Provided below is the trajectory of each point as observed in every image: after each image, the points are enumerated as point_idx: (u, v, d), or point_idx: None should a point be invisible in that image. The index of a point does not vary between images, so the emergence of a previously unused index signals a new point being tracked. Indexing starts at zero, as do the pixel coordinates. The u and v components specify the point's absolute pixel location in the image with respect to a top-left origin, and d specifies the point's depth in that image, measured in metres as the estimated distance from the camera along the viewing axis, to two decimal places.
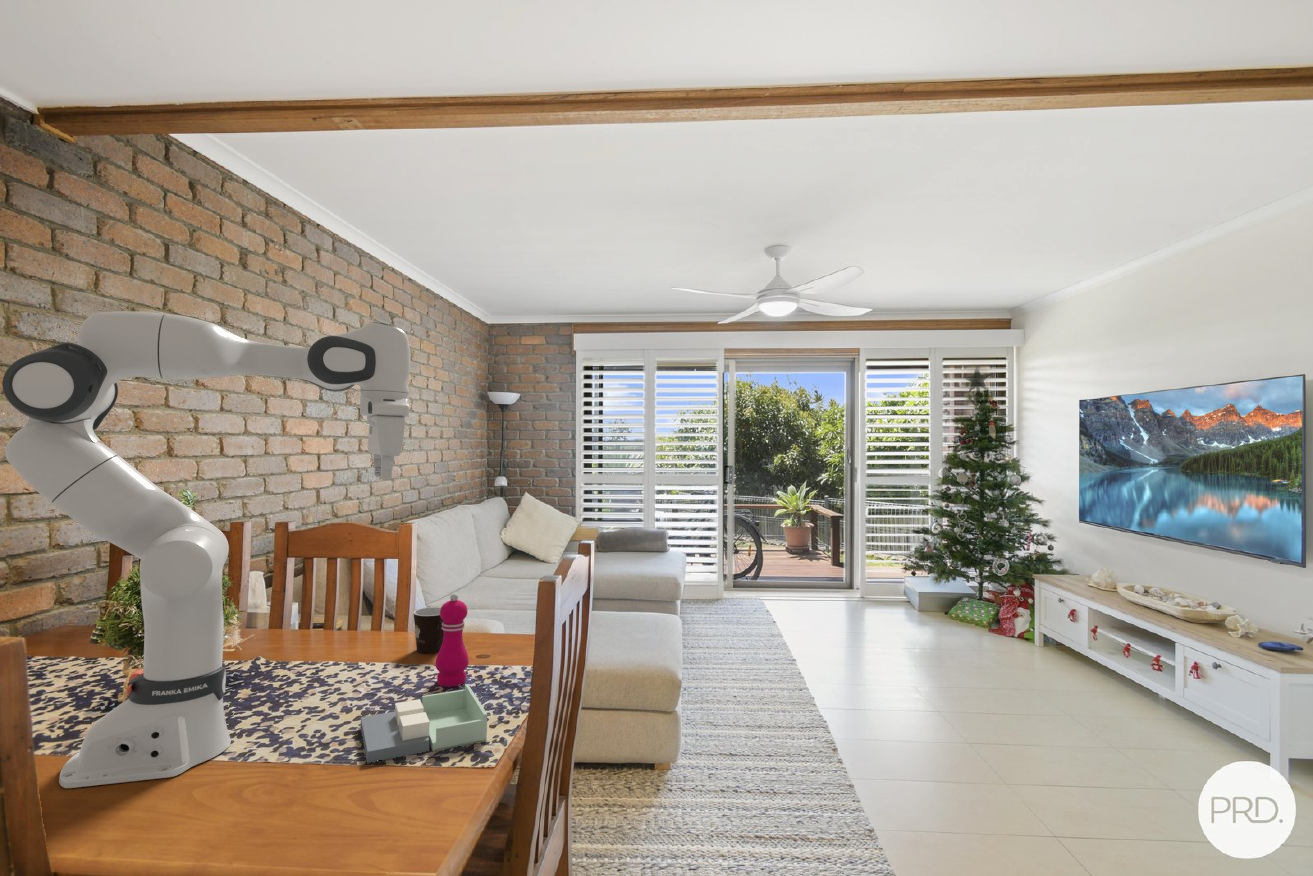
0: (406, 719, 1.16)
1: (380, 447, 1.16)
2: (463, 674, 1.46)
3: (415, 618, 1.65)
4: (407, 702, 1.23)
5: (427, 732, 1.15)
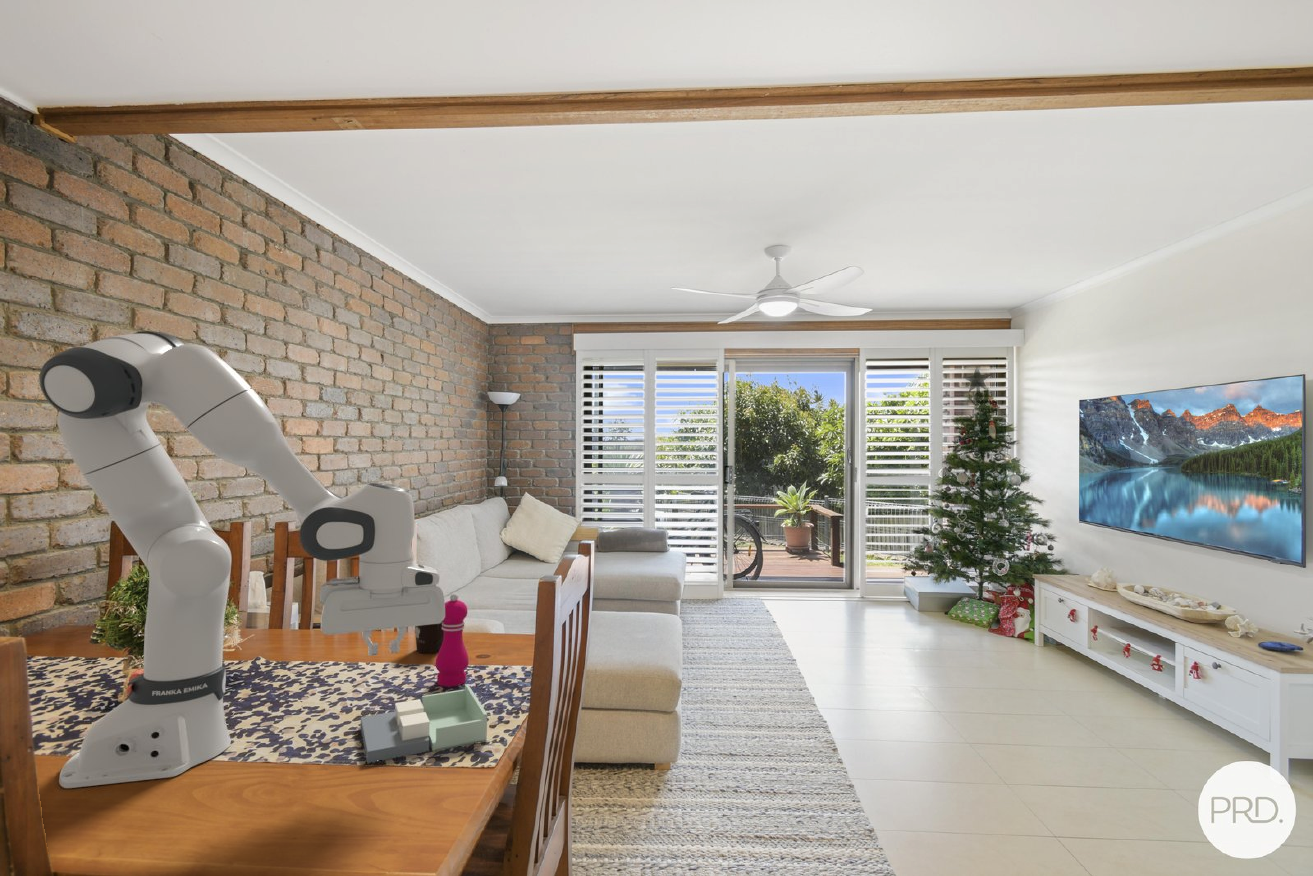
0: (406, 719, 1.16)
1: (444, 615, 1.17)
2: (463, 674, 1.46)
3: None
4: (407, 702, 1.23)
5: (427, 732, 1.15)
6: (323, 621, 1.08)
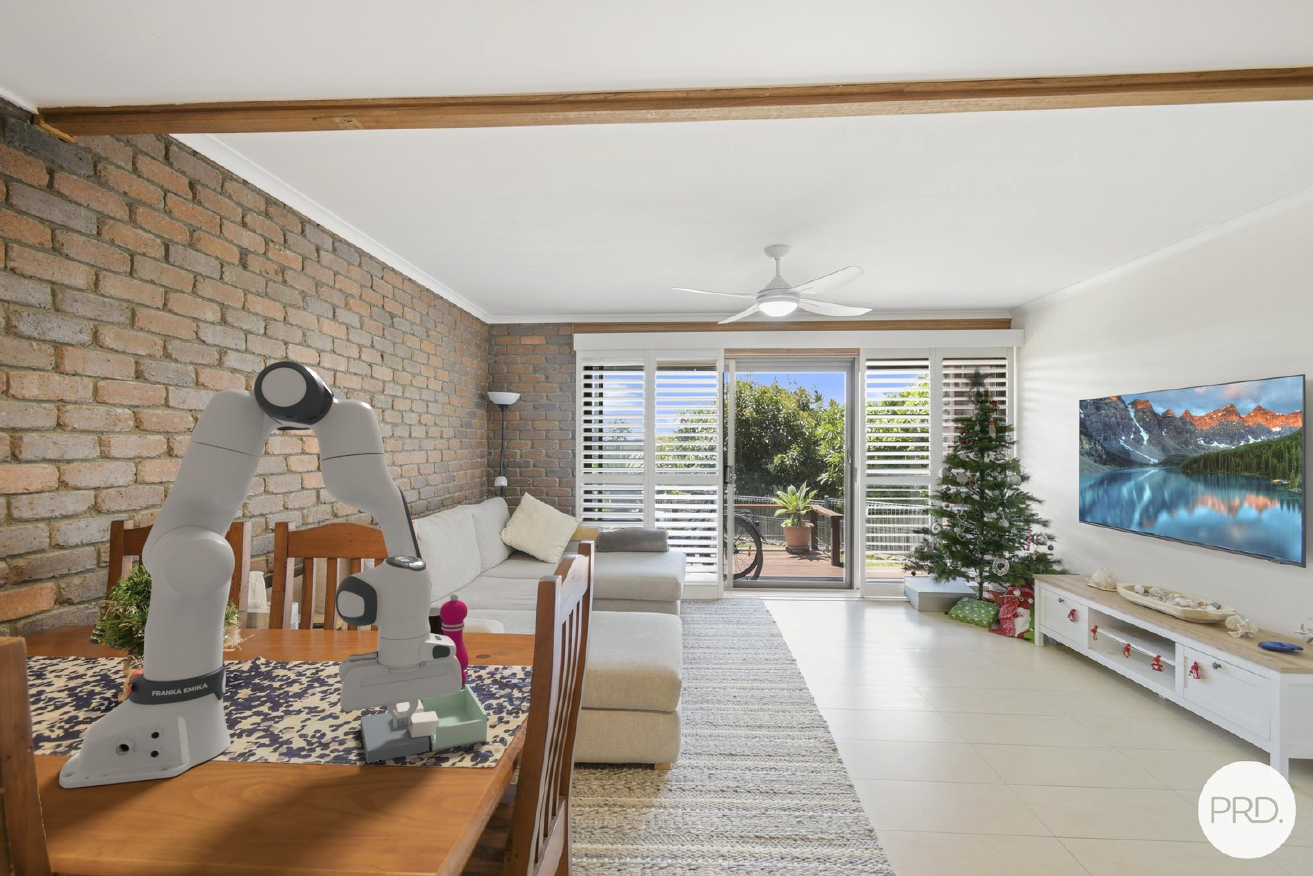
0: (416, 717, 1.17)
1: (461, 685, 1.19)
2: (463, 674, 1.46)
3: None
4: (407, 702, 1.23)
5: None
6: (343, 698, 1.09)
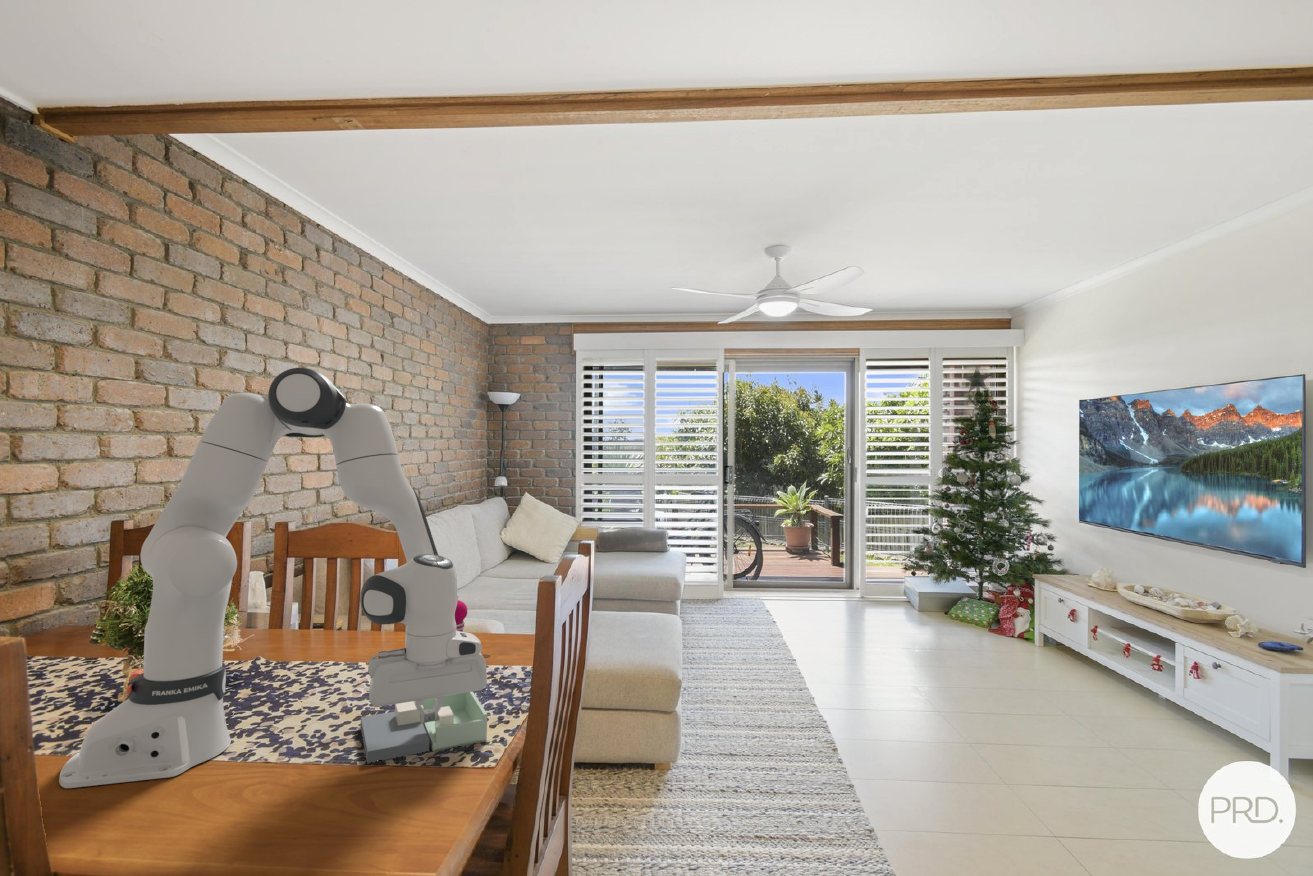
0: None
1: (486, 682, 1.21)
2: None
3: None
4: (407, 702, 1.23)
5: None
6: (372, 694, 1.11)
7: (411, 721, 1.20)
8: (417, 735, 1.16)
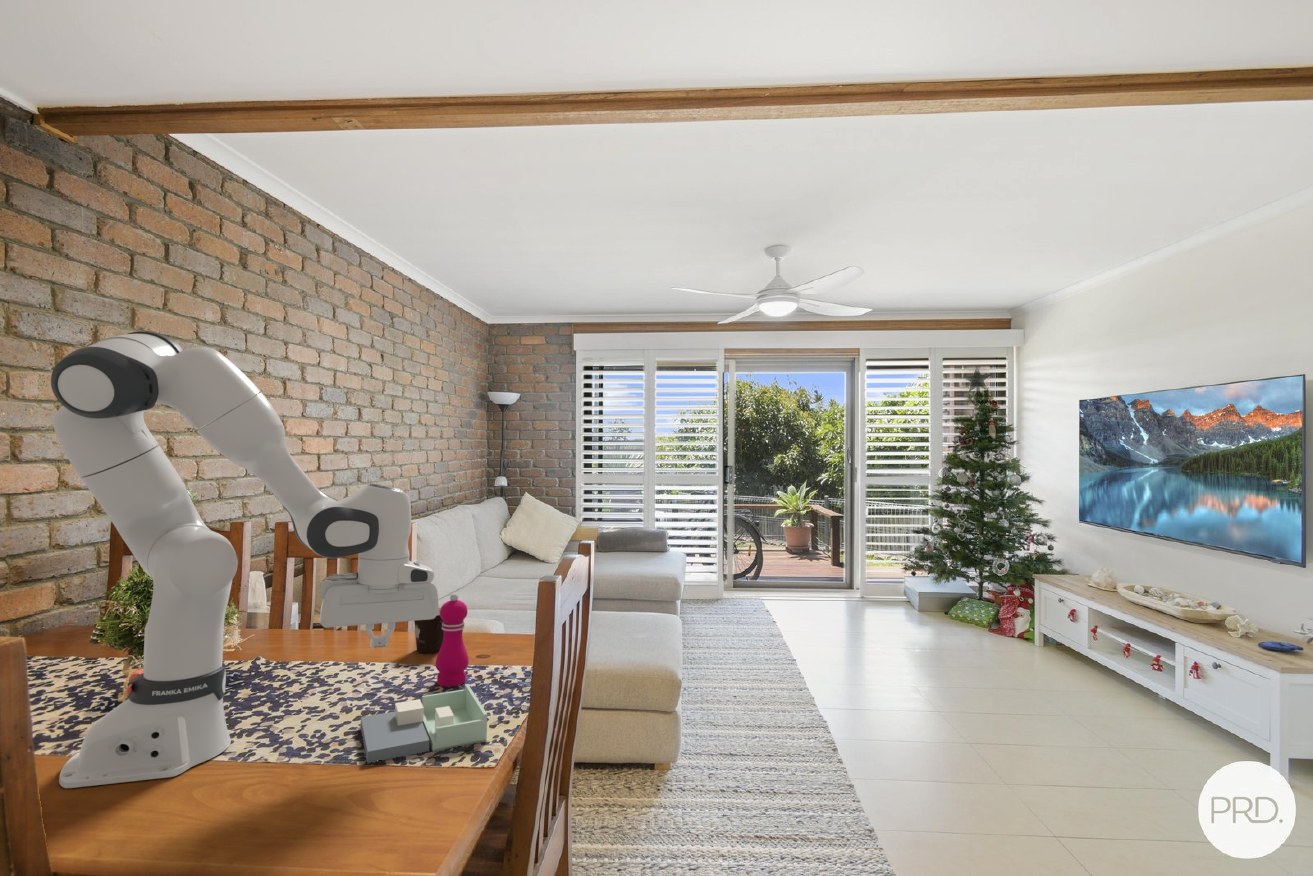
0: None
1: (437, 611, 1.23)
2: (463, 674, 1.46)
3: None
4: (407, 702, 1.23)
5: None
6: (322, 614, 1.13)
7: (411, 721, 1.20)
8: (417, 735, 1.16)
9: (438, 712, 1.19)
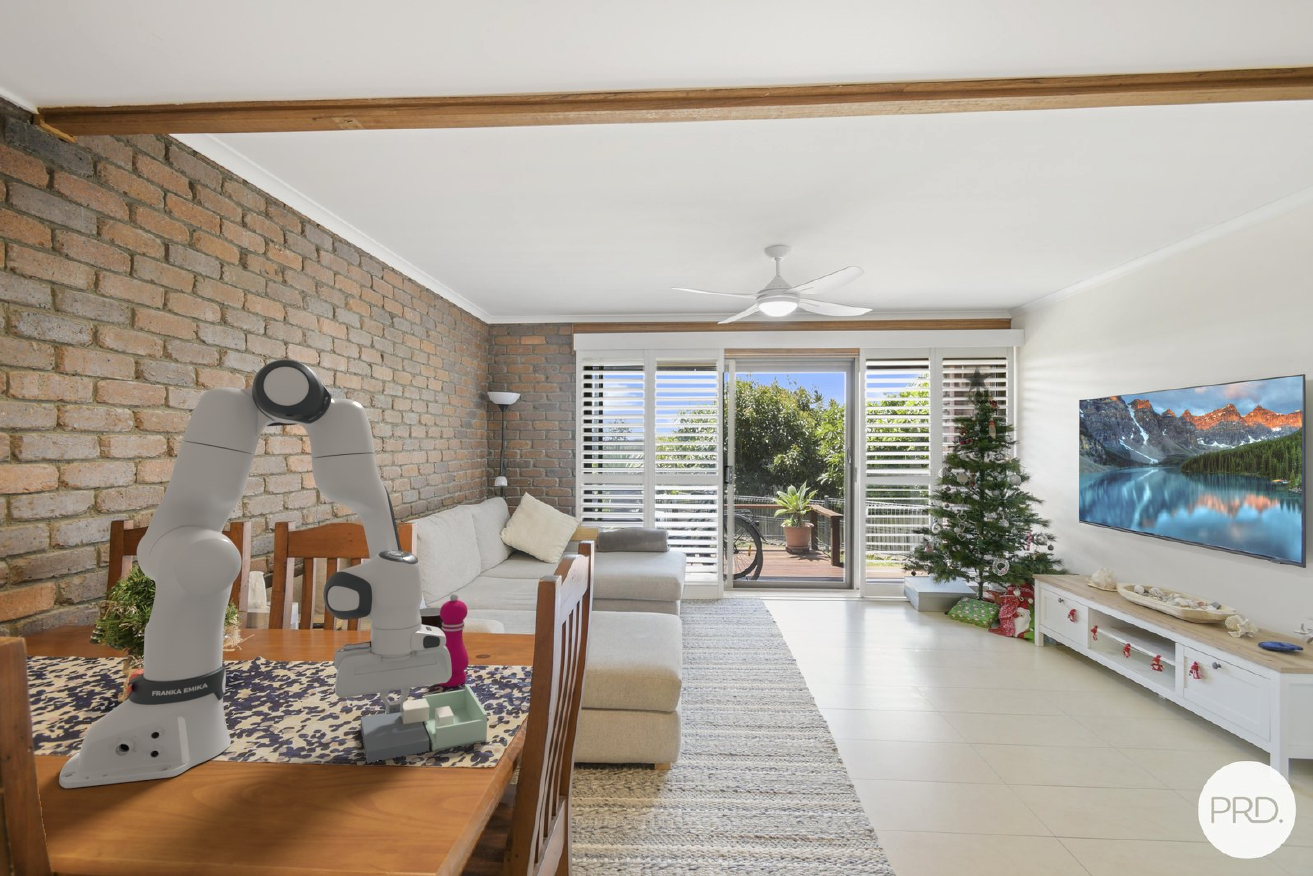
0: None
1: (451, 674, 1.24)
2: (463, 674, 1.46)
3: None
4: (412, 701, 1.24)
5: None
6: (337, 685, 1.15)
7: (417, 720, 1.21)
8: (417, 735, 1.16)
9: (438, 712, 1.19)
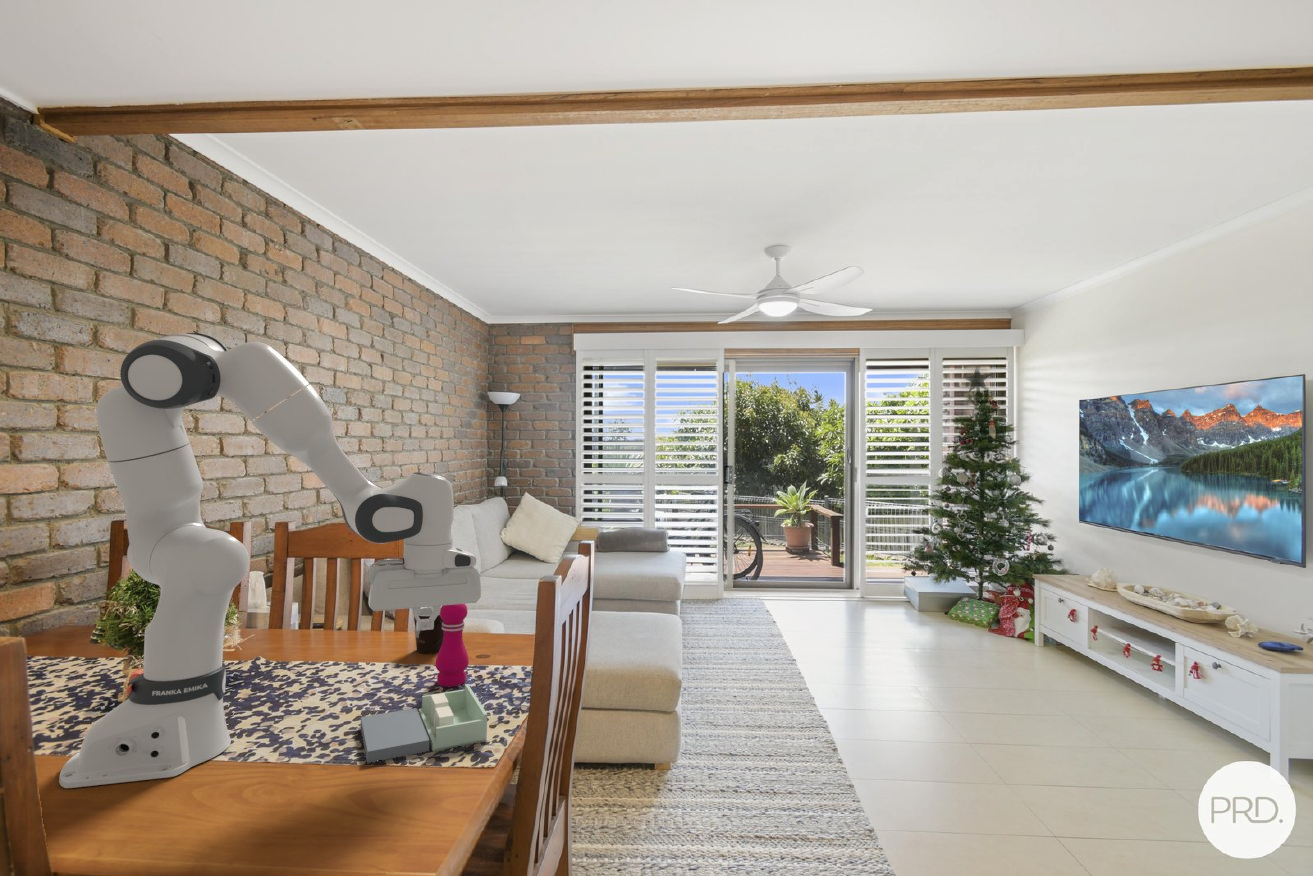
0: None
1: (480, 595, 1.27)
2: (463, 674, 1.46)
3: None
4: None
5: None
6: (372, 598, 1.17)
7: None
8: (417, 735, 1.16)
9: (438, 712, 1.19)
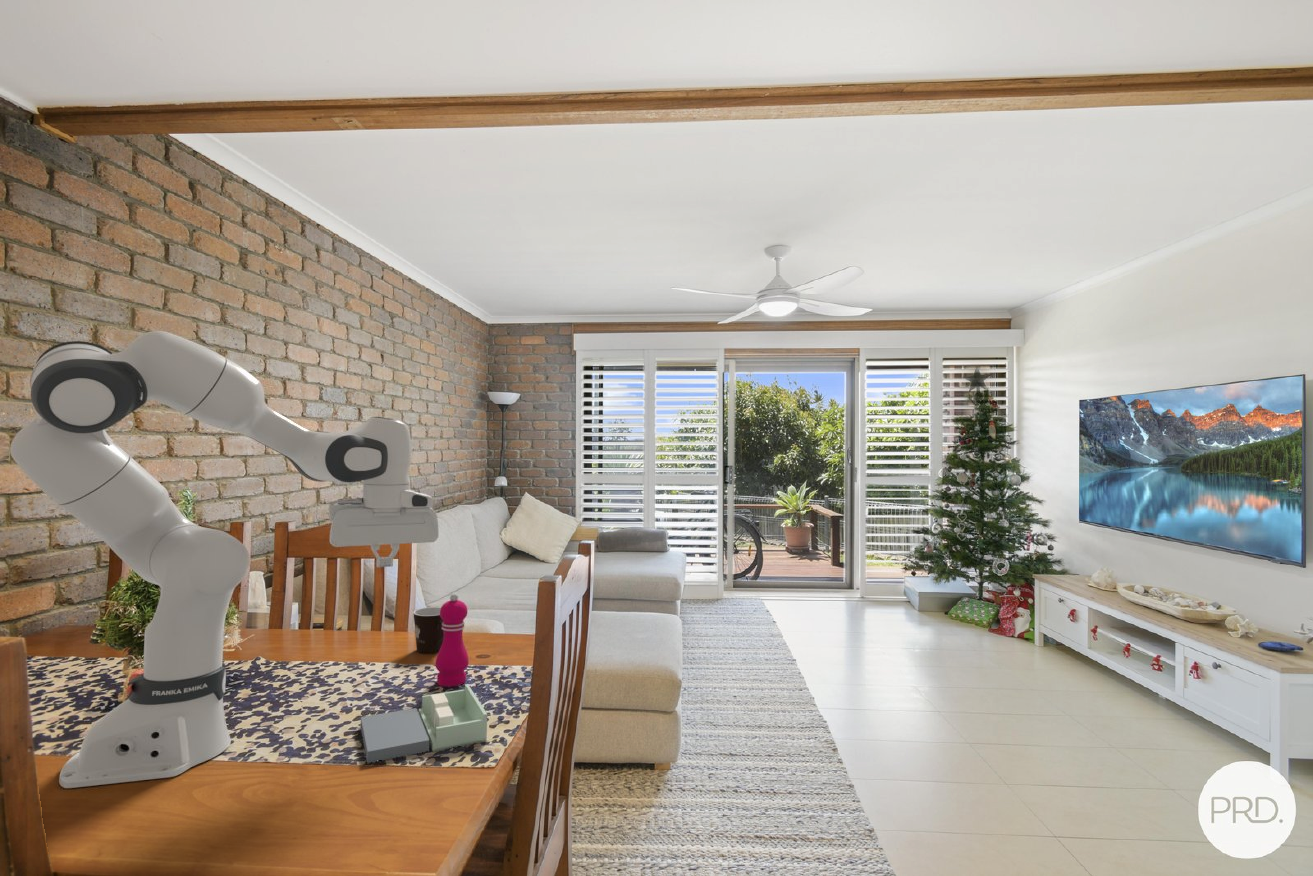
0: None
1: (438, 534, 1.33)
2: (463, 674, 1.46)
3: (415, 618, 1.65)
4: None
5: None
6: (332, 534, 1.24)
7: None
8: (417, 735, 1.16)
9: (438, 712, 1.19)
